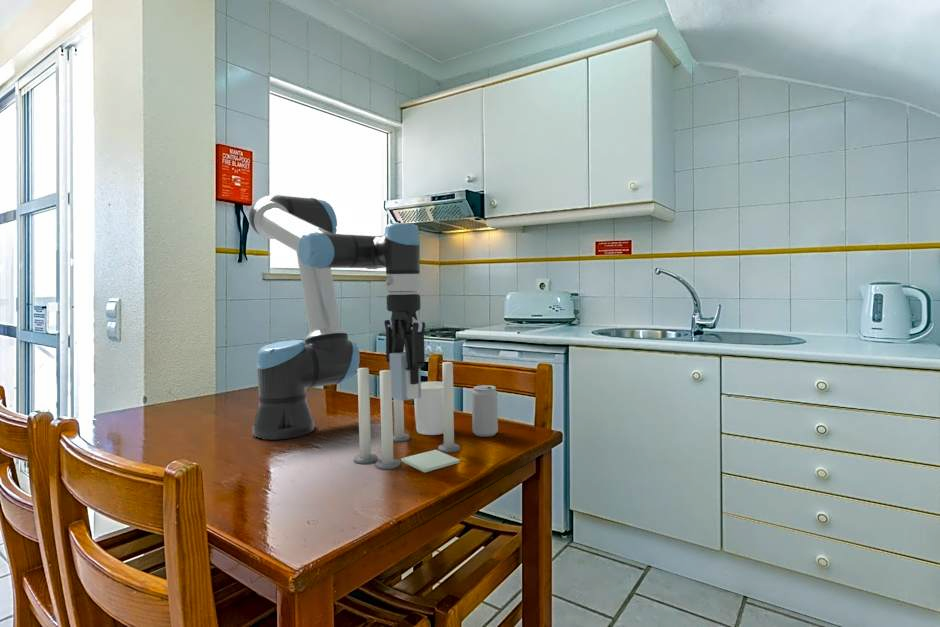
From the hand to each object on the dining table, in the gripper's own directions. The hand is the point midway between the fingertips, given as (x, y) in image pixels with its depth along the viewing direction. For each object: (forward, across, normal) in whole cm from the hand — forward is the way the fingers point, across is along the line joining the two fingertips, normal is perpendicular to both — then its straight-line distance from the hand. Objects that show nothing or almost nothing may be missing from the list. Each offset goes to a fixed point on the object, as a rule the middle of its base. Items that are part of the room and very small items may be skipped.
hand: (405, 395), depth 118 cm
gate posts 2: (+13, +5, 0) cm, 14 cm away
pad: (+13, +10, 0) cm, 16 cm away
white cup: (+13, -10, +14) cm, 21 cm away
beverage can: (+13, +2, +22) cm, 26 cm away
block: (0, 0, 0) cm, 0 cm away
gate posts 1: (+13, -5, -3) cm, 14 cm away
